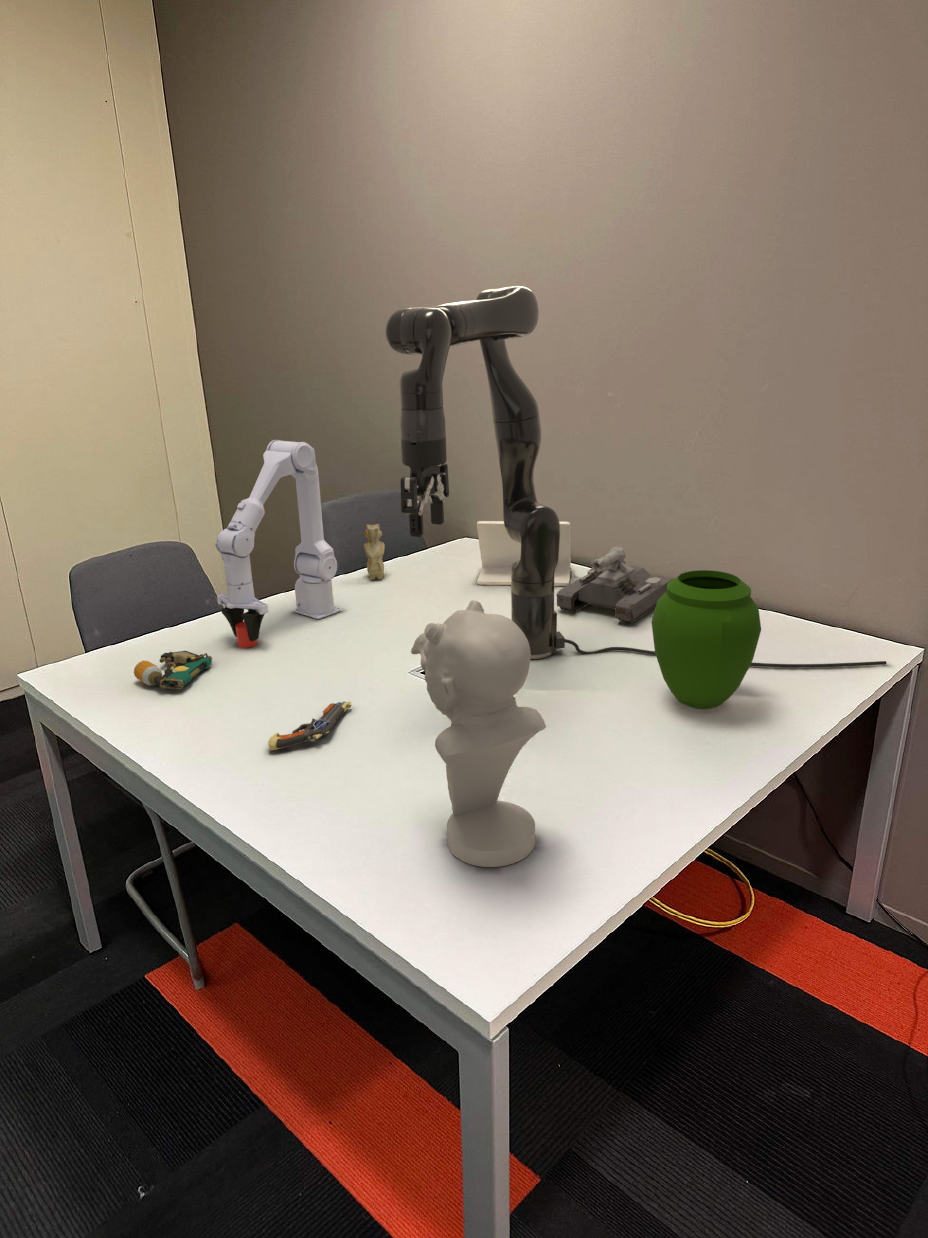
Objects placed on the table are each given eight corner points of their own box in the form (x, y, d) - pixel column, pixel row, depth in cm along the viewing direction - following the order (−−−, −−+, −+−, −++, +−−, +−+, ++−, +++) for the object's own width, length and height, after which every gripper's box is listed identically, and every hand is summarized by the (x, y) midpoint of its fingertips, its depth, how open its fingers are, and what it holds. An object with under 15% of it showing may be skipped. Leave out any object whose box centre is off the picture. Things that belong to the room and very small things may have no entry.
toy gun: (263, 740, 148) (317, 738, 146) (303, 699, 166) (351, 696, 163) (266, 754, 148) (320, 752, 146) (305, 712, 166) (354, 709, 164)
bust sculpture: (481, 772, 140) (476, 569, 128) (565, 848, 120) (569, 617, 108) (392, 800, 134) (378, 588, 121) (465, 886, 114) (457, 642, 101)
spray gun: (177, 659, 191) (231, 671, 185) (120, 684, 176) (176, 698, 171) (176, 641, 190) (230, 653, 184) (118, 665, 175) (174, 678, 169)
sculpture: (387, 572, 244) (383, 521, 239) (386, 580, 238) (382, 528, 232) (366, 573, 244) (363, 522, 239) (365, 581, 237) (361, 529, 232)
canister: (254, 639, 200) (252, 619, 198) (259, 645, 196) (257, 625, 194) (235, 643, 198) (233, 623, 196) (240, 649, 194) (237, 629, 192)
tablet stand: (569, 585, 229) (570, 524, 223) (476, 584, 232) (475, 523, 226) (570, 566, 246) (571, 508, 240) (484, 564, 249) (483, 507, 243)
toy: (603, 584, 229) (605, 530, 224) (673, 597, 218) (677, 540, 213) (555, 612, 210) (556, 553, 205) (630, 627, 199) (633, 566, 194)
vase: (765, 692, 165) (778, 572, 157) (736, 734, 150) (748, 603, 142) (668, 672, 175) (675, 558, 167) (631, 709, 160) (637, 586, 151)
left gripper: (203, 581, 192) (211, 637, 197) (248, 591, 184) (255, 649, 189) (227, 573, 198) (235, 627, 202) (272, 582, 190) (278, 639, 195)
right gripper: (421, 428, 150) (425, 518, 156) (383, 441, 138) (389, 538, 143) (460, 429, 147) (463, 521, 153) (425, 443, 135) (429, 542, 140)
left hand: (246, 637), depth 196 cm, fingers closed on canister, 4 cm apart
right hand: (427, 529), depth 148 cm, fingers open, 8 cm apart
